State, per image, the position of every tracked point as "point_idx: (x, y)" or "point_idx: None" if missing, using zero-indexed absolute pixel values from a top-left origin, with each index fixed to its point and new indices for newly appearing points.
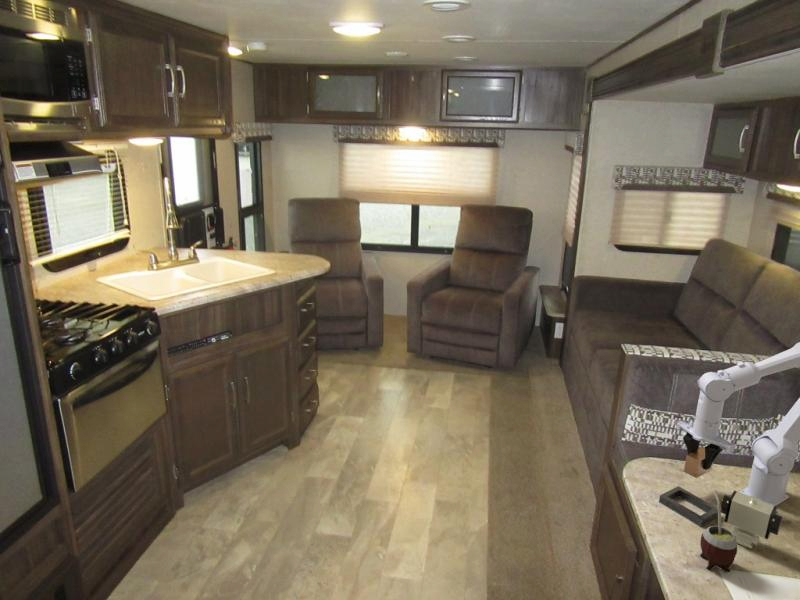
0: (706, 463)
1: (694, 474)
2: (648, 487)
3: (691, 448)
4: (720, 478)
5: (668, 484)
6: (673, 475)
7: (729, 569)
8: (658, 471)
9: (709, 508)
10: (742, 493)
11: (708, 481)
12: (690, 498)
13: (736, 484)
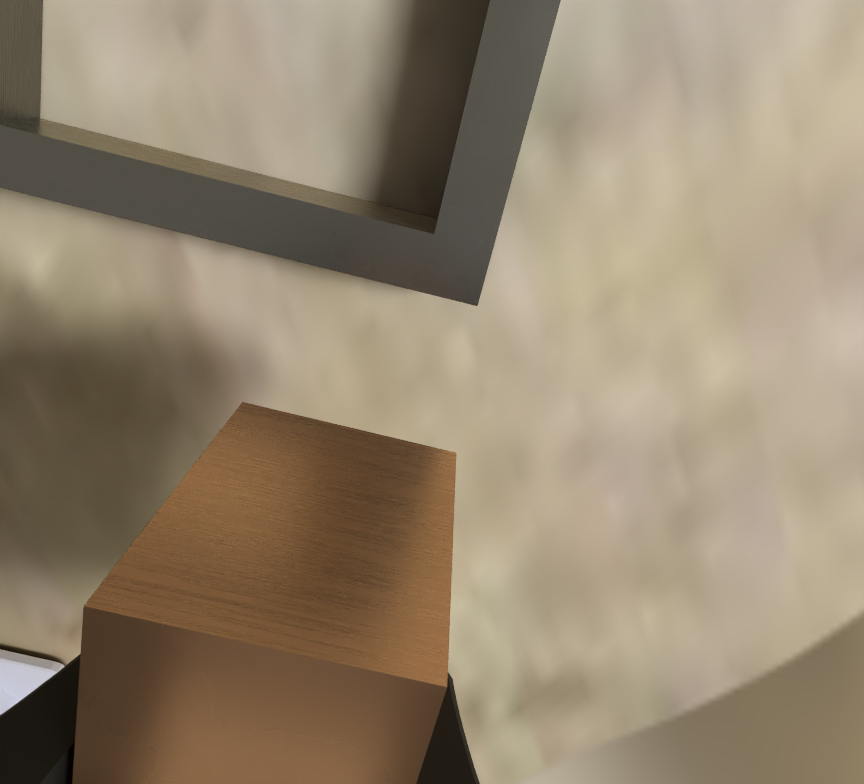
0: (59, 687)
1: (272, 432)
2: (781, 137)
3: None
4: None
5: (601, 373)
6: (607, 564)
7: None
8: (755, 534)
9: (40, 128)
10: (37, 665)
11: None
12: (290, 192)
13: None
